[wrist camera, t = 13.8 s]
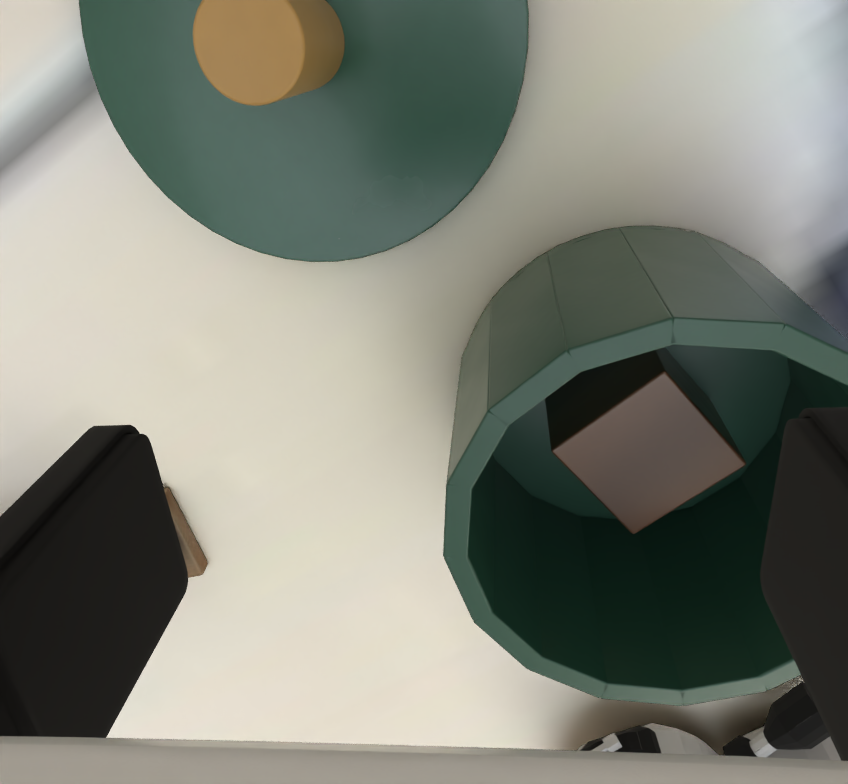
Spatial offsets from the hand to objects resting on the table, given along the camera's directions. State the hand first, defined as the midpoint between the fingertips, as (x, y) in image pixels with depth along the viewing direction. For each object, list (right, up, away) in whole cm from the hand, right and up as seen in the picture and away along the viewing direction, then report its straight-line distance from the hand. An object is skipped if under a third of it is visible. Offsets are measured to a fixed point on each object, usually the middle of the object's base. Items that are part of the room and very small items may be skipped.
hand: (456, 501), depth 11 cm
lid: (-4, +13, +12) cm, 18 cm away
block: (+7, +2, +16) cm, 18 cm away
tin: (+7, +2, +16) cm, 18 cm away
